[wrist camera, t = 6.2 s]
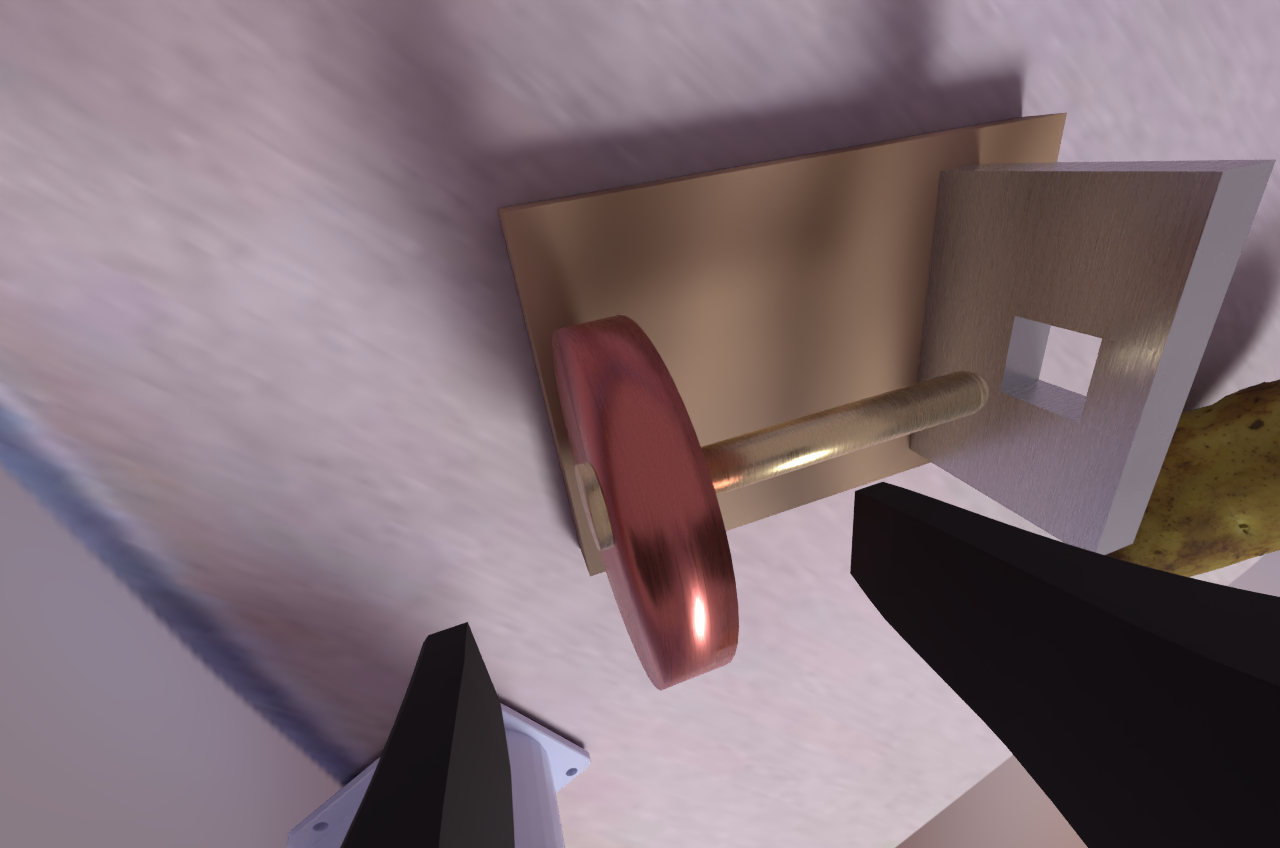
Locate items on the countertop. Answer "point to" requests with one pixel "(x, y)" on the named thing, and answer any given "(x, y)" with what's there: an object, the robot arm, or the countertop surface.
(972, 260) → the eye plate
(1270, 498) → the potato
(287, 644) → the countertop surface
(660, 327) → the base board
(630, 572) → the copper disc on rod
